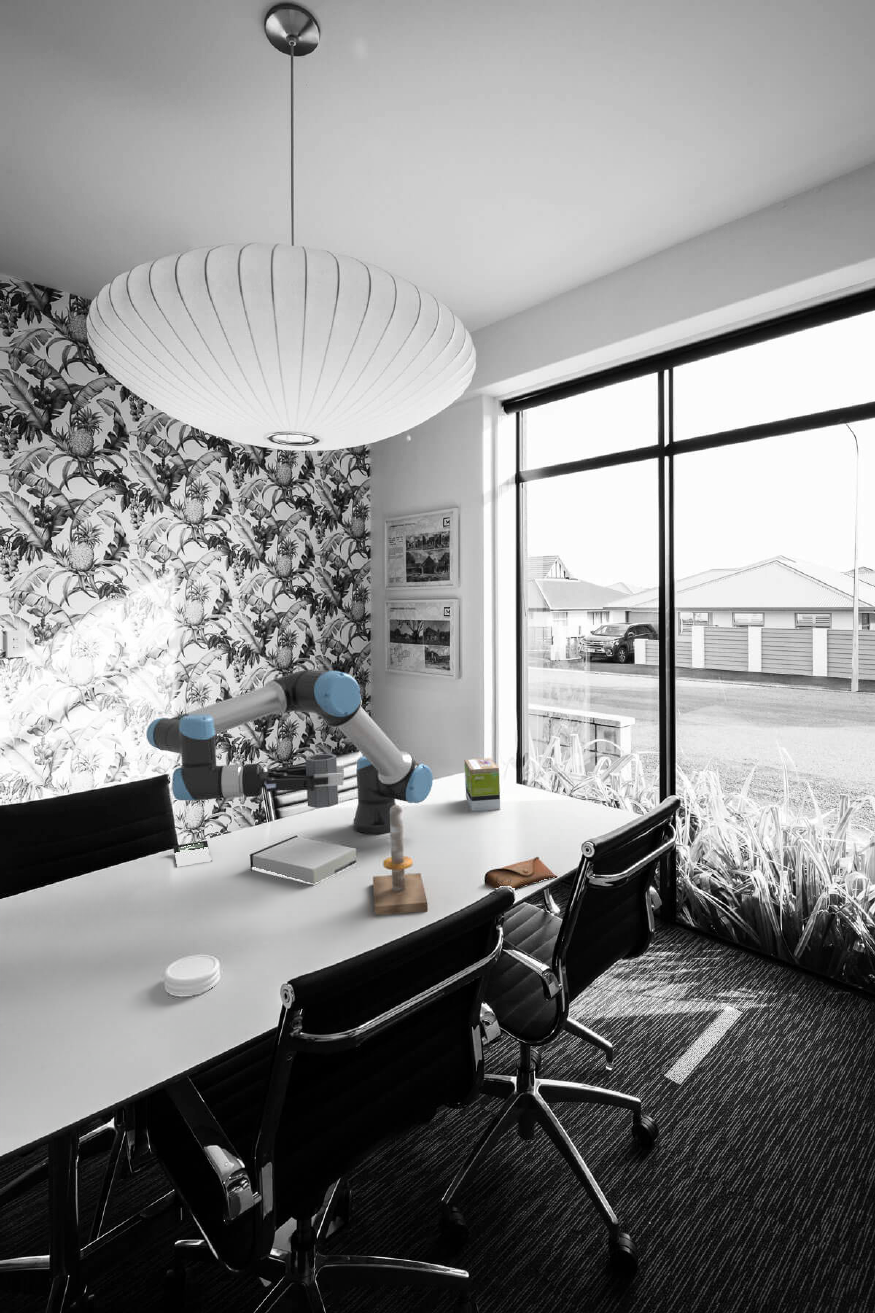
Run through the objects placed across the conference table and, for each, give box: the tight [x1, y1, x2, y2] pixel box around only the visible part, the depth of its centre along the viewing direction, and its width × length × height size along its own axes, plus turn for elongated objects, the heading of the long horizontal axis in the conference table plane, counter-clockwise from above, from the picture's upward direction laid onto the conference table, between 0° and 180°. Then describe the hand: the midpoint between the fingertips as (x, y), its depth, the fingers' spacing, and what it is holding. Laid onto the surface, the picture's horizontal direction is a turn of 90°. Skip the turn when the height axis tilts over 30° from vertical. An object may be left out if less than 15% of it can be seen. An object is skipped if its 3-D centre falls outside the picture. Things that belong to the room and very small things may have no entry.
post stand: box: [372, 804, 429, 916], centre depth 171 cm, size 12×18×22 cm, turn 6°
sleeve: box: [305, 753, 339, 809], centre depth 168 cm, size 7×7×11 cm
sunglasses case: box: [483, 856, 558, 891], centre depth 181 cm, size 18×7×7 cm, turn 124°
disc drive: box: [249, 835, 358, 884], centre depth 194 cm, size 18×22×5 cm
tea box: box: [464, 757, 501, 812], centre depth 248 cm, size 15×10×15 cm, turn 6°
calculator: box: [172, 840, 209, 854], centre depth 204 cm, size 9×12×3 cm
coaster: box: [163, 954, 221, 995], centre depth 135 cm, size 10×10×4 cm
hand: (343, 774), depth 169 cm, fingers closed on sleeve, 7 cm apart
